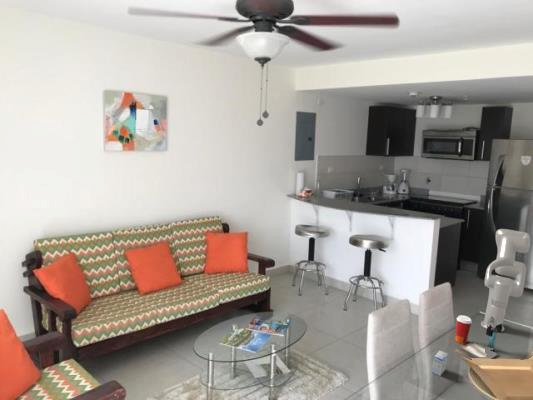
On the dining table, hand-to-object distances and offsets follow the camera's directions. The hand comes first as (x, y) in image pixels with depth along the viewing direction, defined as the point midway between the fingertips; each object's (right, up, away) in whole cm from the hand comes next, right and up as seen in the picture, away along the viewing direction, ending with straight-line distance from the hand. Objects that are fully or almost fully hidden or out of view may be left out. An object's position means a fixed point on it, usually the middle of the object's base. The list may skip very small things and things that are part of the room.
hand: (493, 333), depth 233 cm
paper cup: (-14, -7, +8) cm, 18 cm away
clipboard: (-11, -9, -4) cm, 15 cm away
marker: (0, -9, +2) cm, 9 cm away
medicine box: (-39, -11, -23) cm, 46 cm away
